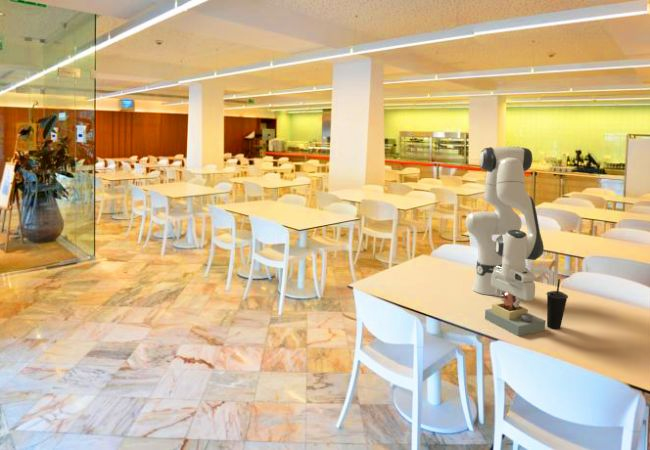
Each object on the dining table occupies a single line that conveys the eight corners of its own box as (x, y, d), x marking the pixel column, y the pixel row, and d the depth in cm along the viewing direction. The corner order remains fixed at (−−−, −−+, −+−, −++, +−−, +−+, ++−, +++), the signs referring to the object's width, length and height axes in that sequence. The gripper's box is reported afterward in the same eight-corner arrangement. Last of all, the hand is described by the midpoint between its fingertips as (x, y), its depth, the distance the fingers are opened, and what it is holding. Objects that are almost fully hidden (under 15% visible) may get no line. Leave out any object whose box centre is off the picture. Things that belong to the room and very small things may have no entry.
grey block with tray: (510, 313, 204) (511, 298, 202) (544, 330, 188) (546, 313, 186) (484, 318, 198) (486, 302, 197) (517, 336, 182) (519, 318, 181)
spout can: (509, 308, 197) (511, 288, 195) (518, 312, 192) (520, 292, 190) (496, 310, 194) (498, 290, 192) (505, 315, 189) (507, 294, 188)
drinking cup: (539, 323, 194) (544, 276, 190) (557, 322, 195) (562, 276, 191) (549, 331, 187) (555, 282, 183) (568, 330, 187) (574, 282, 183)
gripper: (488, 265, 198) (485, 296, 201) (527, 279, 180) (523, 314, 182) (500, 263, 200) (497, 294, 203) (539, 277, 182) (535, 311, 185)
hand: (510, 303), depth 193 cm, fingers closed on spout can, 5 cm apart
